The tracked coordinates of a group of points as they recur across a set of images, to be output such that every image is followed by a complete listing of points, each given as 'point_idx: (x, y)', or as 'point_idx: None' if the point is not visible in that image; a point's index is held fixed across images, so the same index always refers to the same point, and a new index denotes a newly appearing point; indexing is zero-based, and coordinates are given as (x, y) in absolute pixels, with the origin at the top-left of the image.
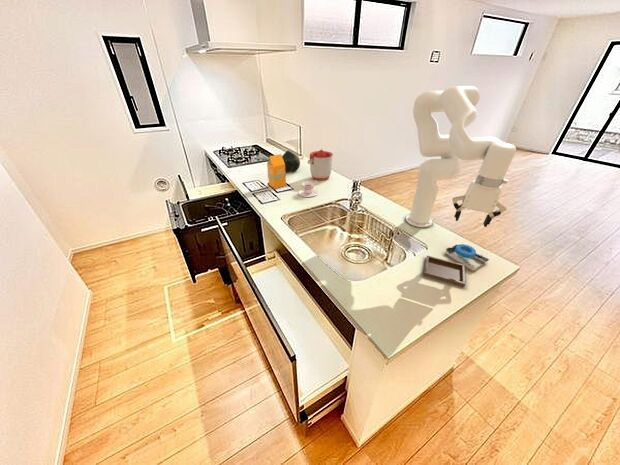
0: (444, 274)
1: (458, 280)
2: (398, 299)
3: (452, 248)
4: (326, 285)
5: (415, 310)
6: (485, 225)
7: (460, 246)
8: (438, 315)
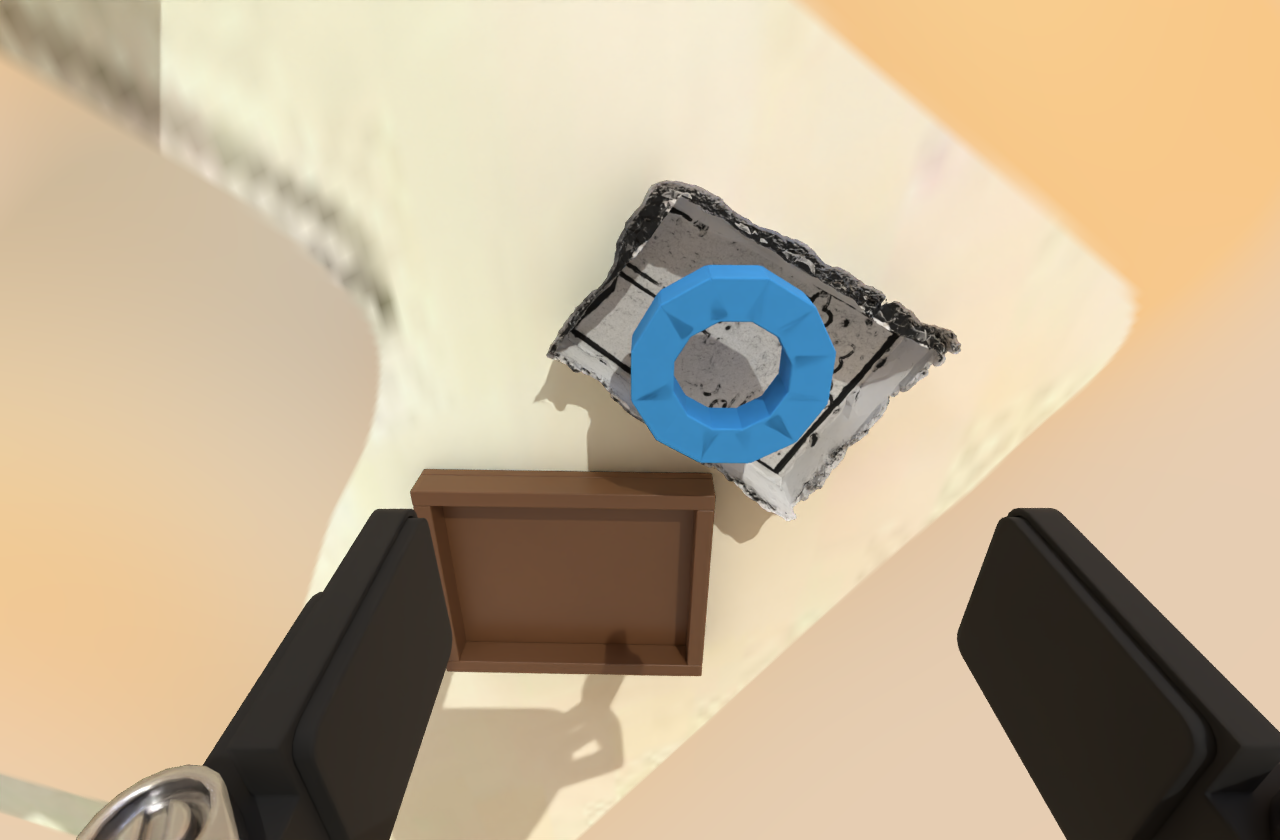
0: (578, 599)
1: (668, 618)
2: None
3: (614, 277)
4: (69, 833)
5: (482, 826)
6: (984, 679)
7: (675, 344)
8: (578, 819)
